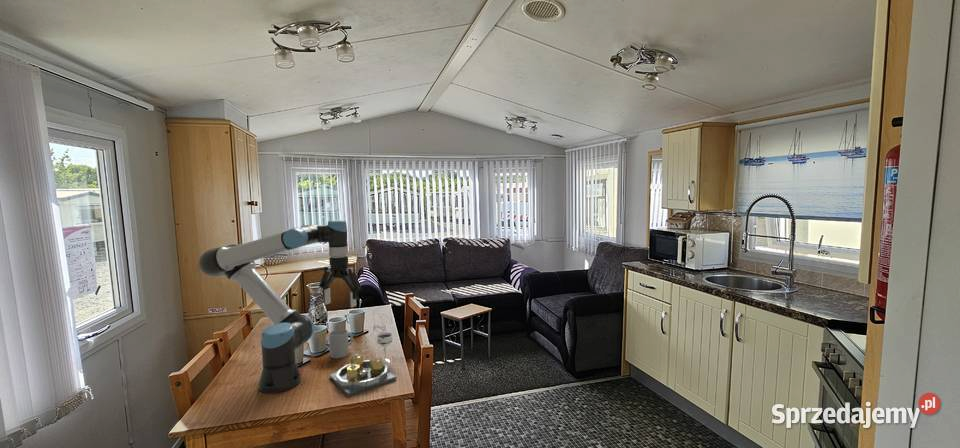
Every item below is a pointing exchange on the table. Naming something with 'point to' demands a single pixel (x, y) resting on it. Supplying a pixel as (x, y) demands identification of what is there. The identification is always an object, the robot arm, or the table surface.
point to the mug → (339, 343)
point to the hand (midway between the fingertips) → (340, 305)
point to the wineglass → (384, 343)
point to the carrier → (363, 375)
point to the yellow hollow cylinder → (353, 373)
